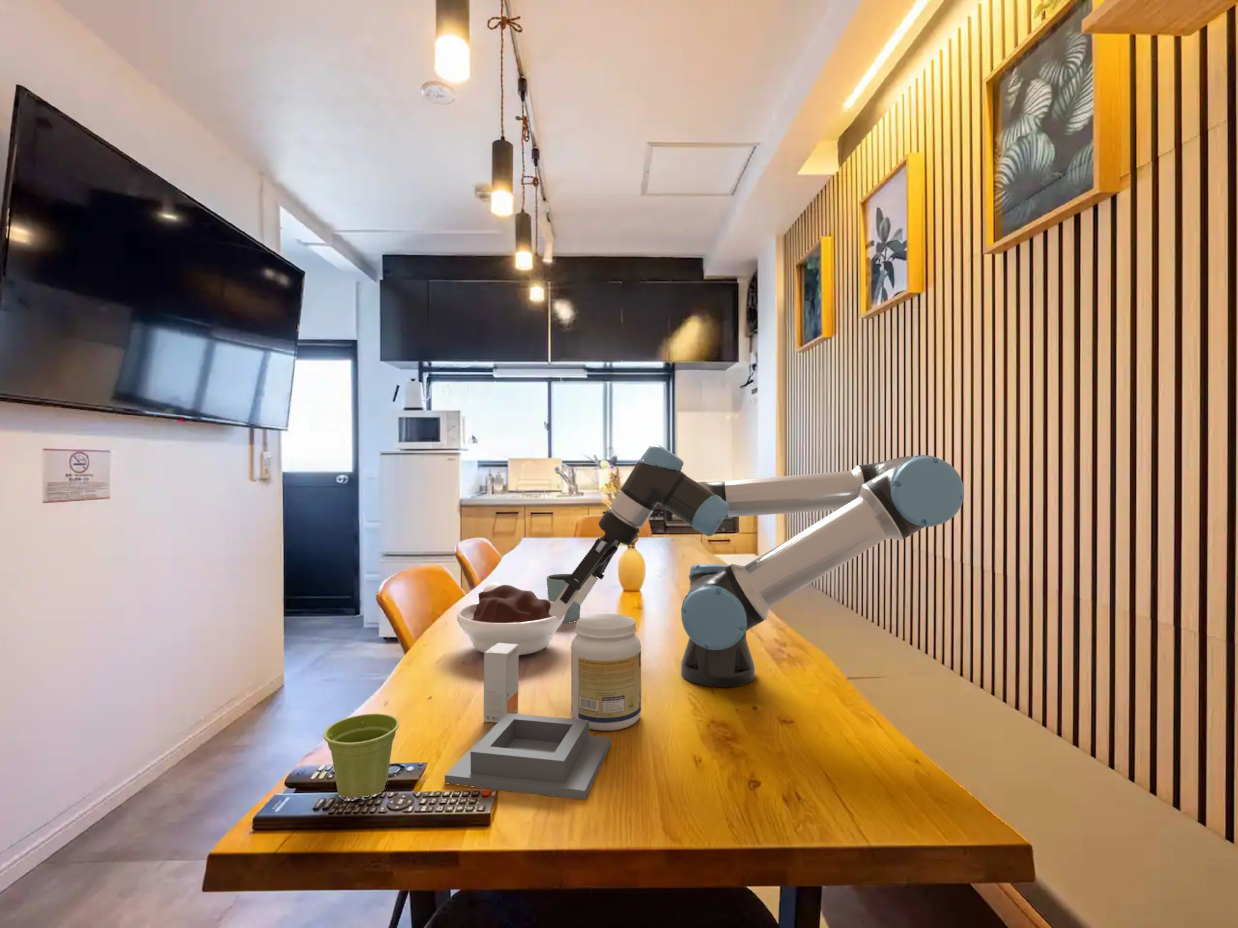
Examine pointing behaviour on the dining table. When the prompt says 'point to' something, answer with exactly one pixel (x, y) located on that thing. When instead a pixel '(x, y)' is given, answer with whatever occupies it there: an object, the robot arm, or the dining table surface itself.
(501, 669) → the skincare box
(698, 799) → the dining table surface
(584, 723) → the slate stand
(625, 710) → the supplement tub
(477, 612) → the bowl of chocolate pudding
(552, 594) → the teal cup
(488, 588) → the lightbulb
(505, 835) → the dining table surface
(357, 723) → the plant pot
